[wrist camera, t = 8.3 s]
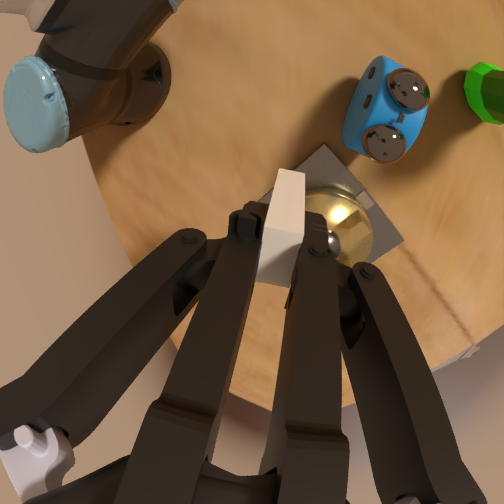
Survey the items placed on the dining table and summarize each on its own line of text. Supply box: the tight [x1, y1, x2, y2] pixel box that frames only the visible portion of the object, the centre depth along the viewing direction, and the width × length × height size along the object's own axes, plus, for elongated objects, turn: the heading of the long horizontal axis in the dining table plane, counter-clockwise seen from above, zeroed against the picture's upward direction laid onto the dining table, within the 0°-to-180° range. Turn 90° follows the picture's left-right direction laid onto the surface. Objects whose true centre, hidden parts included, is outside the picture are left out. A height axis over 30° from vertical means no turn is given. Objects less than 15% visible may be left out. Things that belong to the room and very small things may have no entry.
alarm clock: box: [342, 56, 430, 165], centre depth 27 cm, size 13×6×15 cm, turn 163°
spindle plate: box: [258, 143, 404, 263], centre depth 46 cm, size 22×20×1 cm
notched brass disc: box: [305, 188, 373, 268], centre depth 43 cm, size 16×16×6 cm
